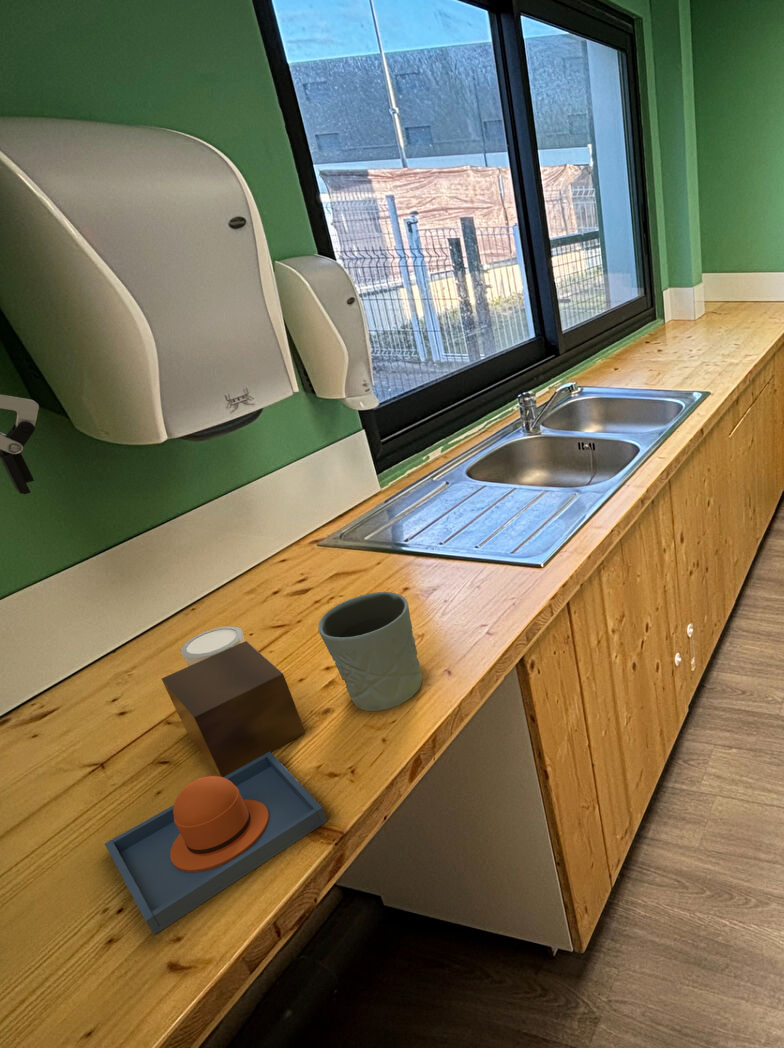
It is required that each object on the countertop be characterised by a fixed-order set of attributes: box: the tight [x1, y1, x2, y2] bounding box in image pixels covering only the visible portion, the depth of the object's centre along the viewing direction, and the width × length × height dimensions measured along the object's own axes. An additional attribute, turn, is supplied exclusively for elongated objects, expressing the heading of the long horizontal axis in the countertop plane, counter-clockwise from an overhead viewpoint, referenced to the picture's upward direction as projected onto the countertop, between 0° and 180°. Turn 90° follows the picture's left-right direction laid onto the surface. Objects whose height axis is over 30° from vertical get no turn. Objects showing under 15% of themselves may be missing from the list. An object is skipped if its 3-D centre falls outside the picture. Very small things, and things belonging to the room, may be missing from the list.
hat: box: [170, 775, 269, 872], centre depth 69 cm, size 8×8×7 cm
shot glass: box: [180, 626, 246, 667], centre depth 92 cm, size 7×7×7 cm
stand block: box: [161, 640, 306, 777], centre depth 83 cm, size 9×11×9 cm
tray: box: [104, 751, 329, 936], centre depth 71 cm, size 15×13×2 cm
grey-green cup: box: [317, 591, 423, 712], centre depth 89 cm, size 10×10×12 cm
